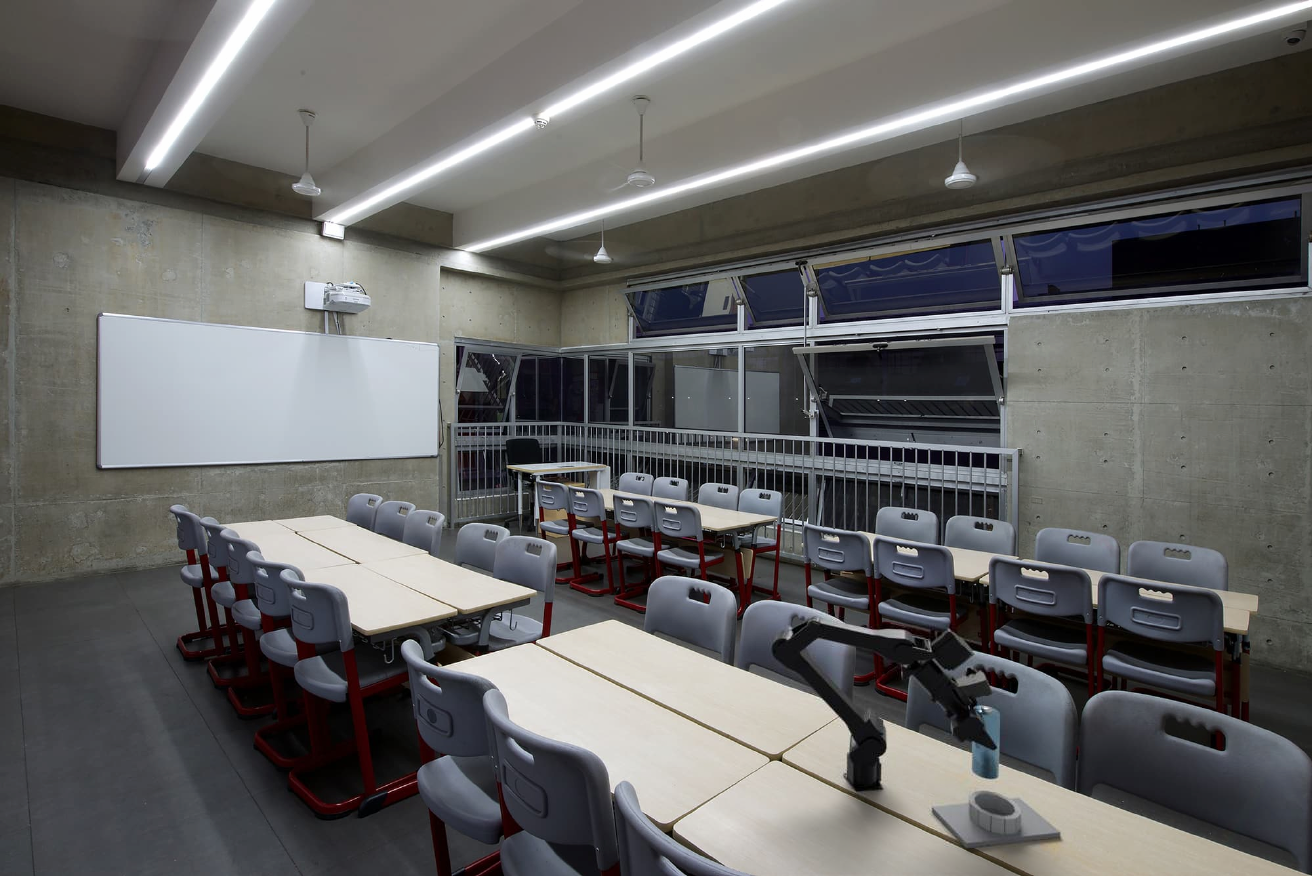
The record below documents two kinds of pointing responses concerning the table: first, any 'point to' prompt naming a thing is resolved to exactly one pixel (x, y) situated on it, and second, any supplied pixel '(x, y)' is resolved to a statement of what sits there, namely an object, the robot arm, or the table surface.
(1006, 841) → the socket plate
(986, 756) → the cylinder
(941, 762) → the table surface
